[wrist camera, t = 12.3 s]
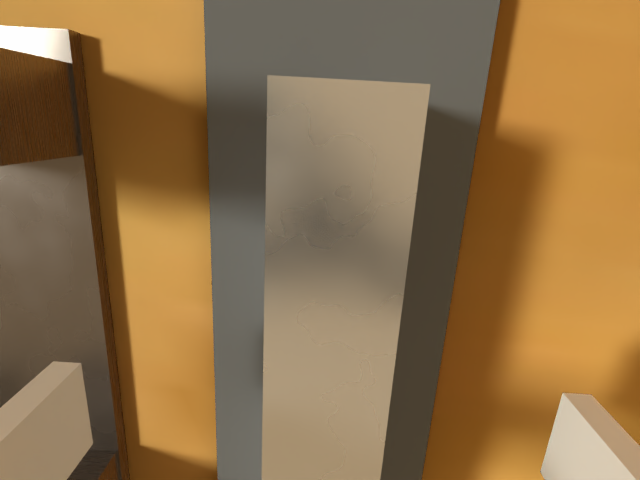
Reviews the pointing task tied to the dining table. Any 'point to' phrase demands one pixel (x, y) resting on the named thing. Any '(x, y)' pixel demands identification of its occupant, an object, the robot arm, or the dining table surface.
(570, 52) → the dining table surface
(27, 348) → the rack
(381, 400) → the rail
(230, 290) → the mat
